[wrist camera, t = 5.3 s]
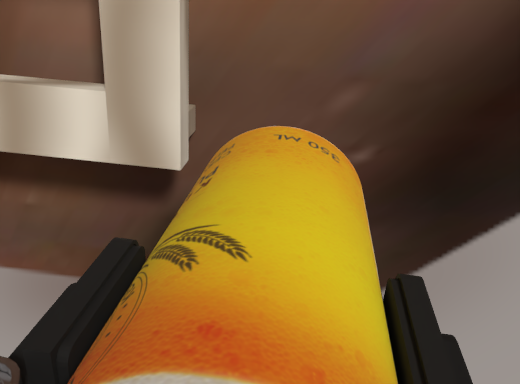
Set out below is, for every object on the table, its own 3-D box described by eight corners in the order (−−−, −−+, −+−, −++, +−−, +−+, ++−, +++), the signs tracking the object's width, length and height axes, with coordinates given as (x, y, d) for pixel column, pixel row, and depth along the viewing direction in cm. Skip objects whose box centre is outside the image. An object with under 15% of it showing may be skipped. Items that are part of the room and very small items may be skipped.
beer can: (202, 115, 16) (-358, 718, 3) (371, 124, 16) (649, 957, 2) (207, 255, 19) (-78, 918, 6) (353, 268, 18) (432, 1057, 5)
